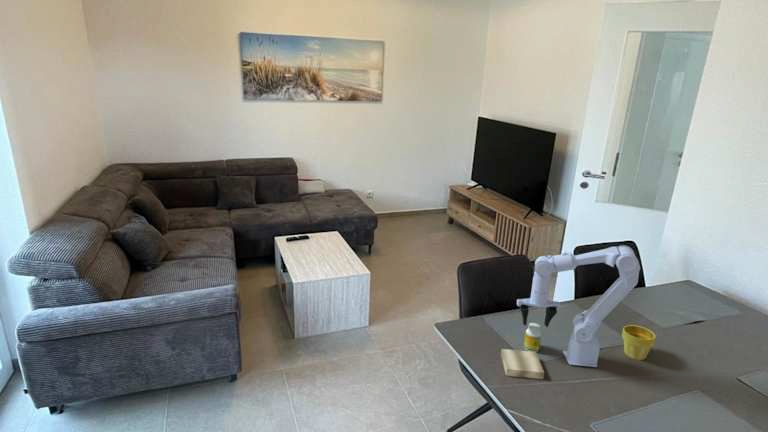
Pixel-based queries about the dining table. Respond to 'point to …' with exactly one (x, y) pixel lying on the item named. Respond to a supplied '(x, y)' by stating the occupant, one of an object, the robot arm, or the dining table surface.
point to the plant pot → (637, 341)
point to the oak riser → (522, 364)
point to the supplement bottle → (532, 337)
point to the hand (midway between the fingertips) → (535, 324)
